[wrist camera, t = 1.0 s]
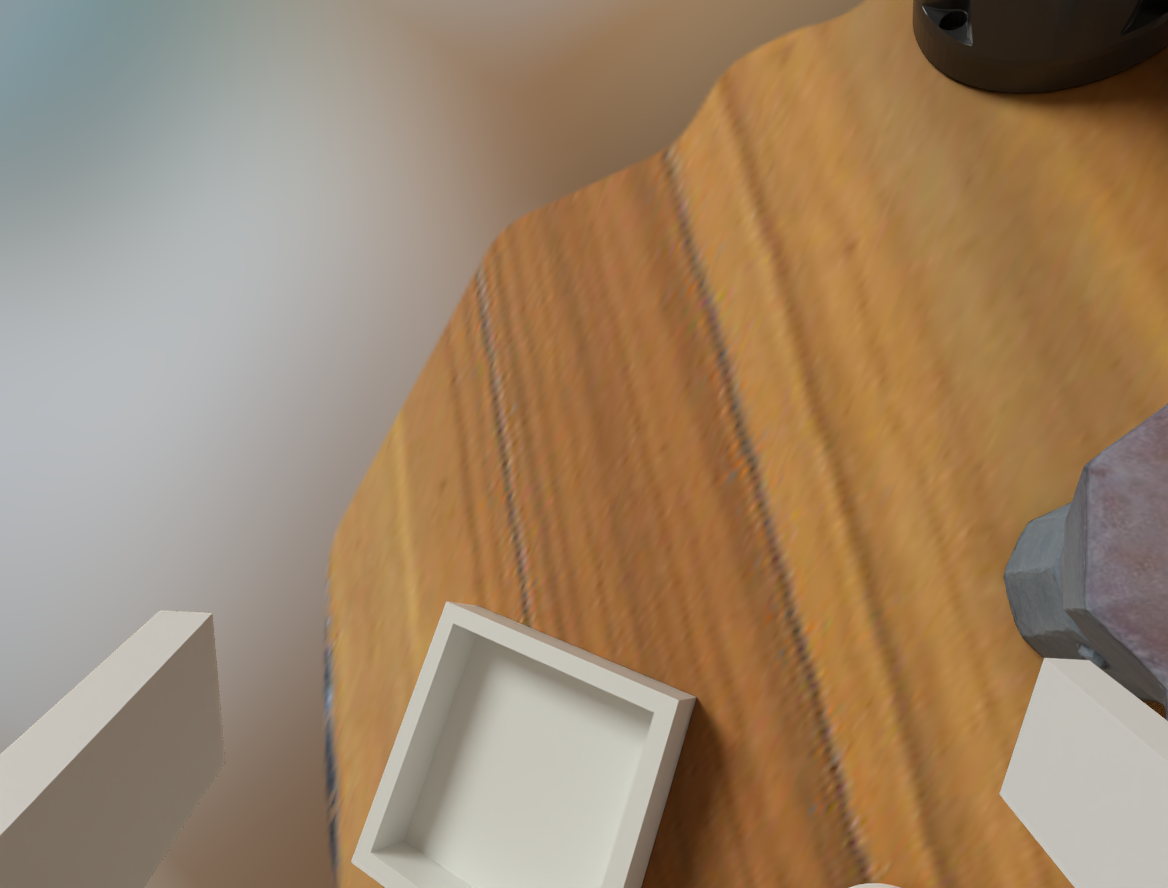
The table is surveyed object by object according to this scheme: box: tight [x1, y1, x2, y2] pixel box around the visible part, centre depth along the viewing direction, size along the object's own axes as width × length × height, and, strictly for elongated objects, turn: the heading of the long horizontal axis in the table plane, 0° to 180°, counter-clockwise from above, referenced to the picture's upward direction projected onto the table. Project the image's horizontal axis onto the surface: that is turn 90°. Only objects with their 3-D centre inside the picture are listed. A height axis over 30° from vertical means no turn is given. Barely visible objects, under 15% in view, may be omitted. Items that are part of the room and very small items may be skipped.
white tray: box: [351, 601, 697, 888], centre depth 36 cm, size 15×15×4 cm
